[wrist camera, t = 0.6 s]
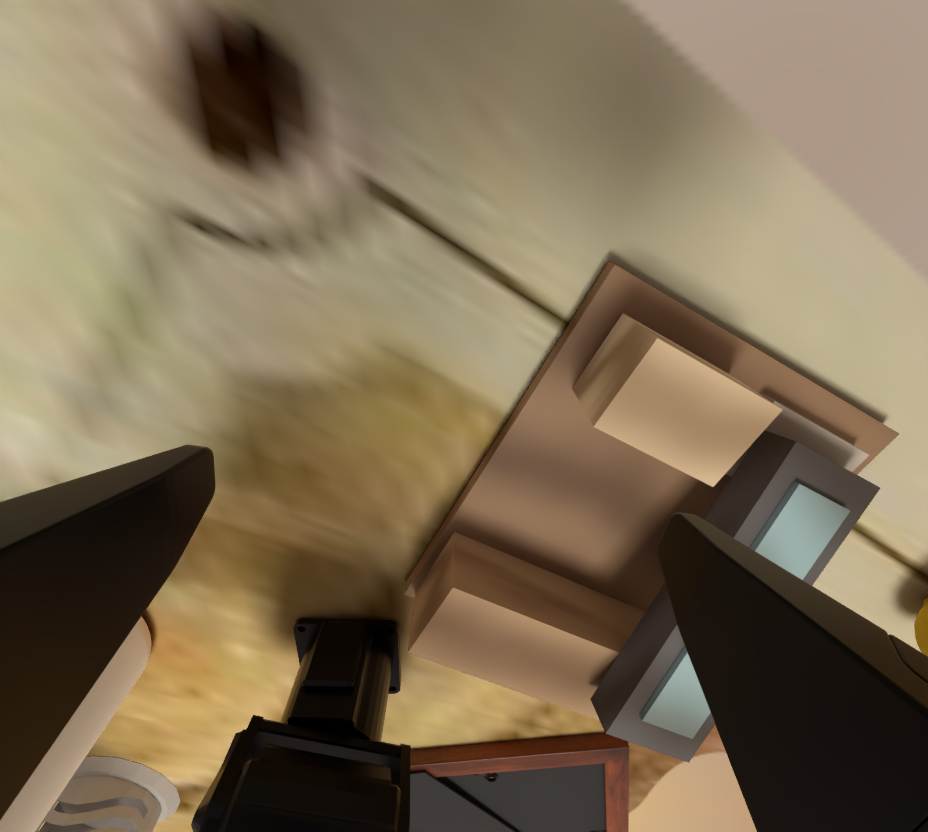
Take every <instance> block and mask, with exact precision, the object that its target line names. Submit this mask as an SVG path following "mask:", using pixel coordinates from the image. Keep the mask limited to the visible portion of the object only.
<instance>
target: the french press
mask: <svg viewBox="0 0 928 832" xmlns="http://www.w3.org/2000/svg"><path fill="white" fill-rule="evenodd" d="M57 801H58V802H59V803H58V804H57V806H56V807H55V808H54V809H53V807H54V806H55V804H56V803H57ZM179 803H180V798H179V795H178V792H177V788H176V787H175V786H174V785H173V784H172V783H171V782H170V781H169V780H168V779H167V778H166V777H165V776H164V775H162V774H160V773H158V772H156V771H154V770H152V769H150V768H148V767H146V766H145V765H143V764H139V763H136V762H132V761H128V760H124V759H120V758H116V757H97V756H90V757H85V759H84V760H83V762H82V763H81V764H80V766H79V767H78V769H77V770H76V772H75V773H74V775H73V776H72V778H71V779H70V781H69V782H68V784H67V785H66V787H65V788H64V790H63V791H62V793H61V794H60V796H59V797H58V798H57V800H56V801H55V803H54V804H53V806H52V807H51V809H50V810H49V812H48V813H47V815H46V816H45V818H44V819H43V821H42V822H41V824H40V825H39V827H38V828H37V830H36V831H35V832H152V831H153V829H154V827H155V825H156V824H157V823H158V822H160V821H162V820H163V819H165V818H167V817H168V816H170V815H172V814H173V813H175V812H176V810H177V807H178V805H179ZM44 821H46V822H45V823H44V825H43V826H42V828H41V829H40V831H39V828H40V827H41V825H42V824H43V822H44Z"/></svg>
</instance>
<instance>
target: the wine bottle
mask: <svg viewBox="0 0 928 832" xmlns="http://www.w3.org/2000/svg"><path fill="white" fill-rule="evenodd" d="M151 645H152V644H151V635H150V632H149V629H148V626H147V624H146V622H145V621H144V619H143V618H142V616H141V617H140V619H139V620H138V622H137V623H136V625H135V626H134V628H133V629H132V630H131V632H130V633H129V635H128V636H127V638H126V639H125V641H124V642H123V643H122V645H121V646H120V648H119V649H118V651H117V652H116V654H115V655H114V657H113V658H112V659H111V661H110V662H109V664H108V665H107V667H106V668H105V670H104V671H103V672H102V674H101V675H100V677H99V678H98V680H97V681H96V683H95V684H94V685H93V687H92V688H91V690H90V691H89V693H88V694H87V696H86V697H85V698H84V700H83V701H82V703H81V704H80V706H79V707H78V709H77V710H76V712H75V713H74V714H73V716H72V717H71V719H70V720H69V722H68V723H67V725H66V726H65V727H64V729H63V730H62V732H61V733H60V735H59V736H58V738H57V739H56V740H55V742H54V743H53V745H52V746H51V748H50V749H49V751H48V752H47V754H46V755H45V756H44V758H43V759H42V761H41V762H40V764H39V765H38V767H37V768H36V769H35V771H34V772H33V774H32V775H31V777H30V778H29V780H28V781H27V782H26V784H25V785H24V787H23V788H22V790H21V791H20V793H19V794H18V795H17V797H16V798H15V800H14V801H13V803H12V804H11V806H10V807H9V809H8V810H7V811H6V813H5V814H4V816H3V817H2V819H1V820H0V832H35V831H36V830H37V828H38V827H39V825H40V824H41V822H42V821H43V819H44V818H45V816H46V815H47V813H48V812H49V810H50V809H51V807H52V806H53V804H54V803H55V801H56V800H57V798H58V797H59V796H60V794H61V793H62V791H63V790H64V788H65V787H66V785H67V784H68V782H69V781H70V779H71V778H72V776H73V775H74V773H75V772H76V770H77V769H78V767H79V766H80V764H81V763H82V762H83V760H84V759H85V757H86V756H87V754H88V753H89V751H90V750H91V748H92V747H93V745H94V744H95V742H96V741H97V739H98V738H99V736H100V735H101V733H102V732H103V730H104V729H105V728H106V726H107V725H108V723H109V722H110V720H111V719H112V717H113V716H114V714H115V713H116V711H117V710H118V708H119V707H120V705H121V704H122V702H123V701H124V699H125V698H126V696H127V695H128V693H129V692H130V691H131V689H132V688H133V686H134V685H135V683H136V682H137V680H138V679H139V677H140V676H141V674H142V673H143V671H144V669H145V667H146V665H147V662H148V660H149V657H150V652H151Z"/></svg>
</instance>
